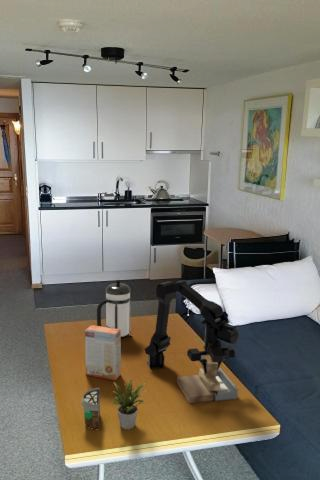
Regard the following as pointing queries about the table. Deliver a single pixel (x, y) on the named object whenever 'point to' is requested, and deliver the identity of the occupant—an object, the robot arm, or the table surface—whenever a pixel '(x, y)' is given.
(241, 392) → the table surface
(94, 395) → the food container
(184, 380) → the tan flat block
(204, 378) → the beige l-shaped block
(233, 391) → the grey tray
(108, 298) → the coffee press
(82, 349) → the table surface
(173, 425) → the table surface
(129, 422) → the house plant
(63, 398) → the table surface
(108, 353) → the cracker box
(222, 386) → the cream tile
